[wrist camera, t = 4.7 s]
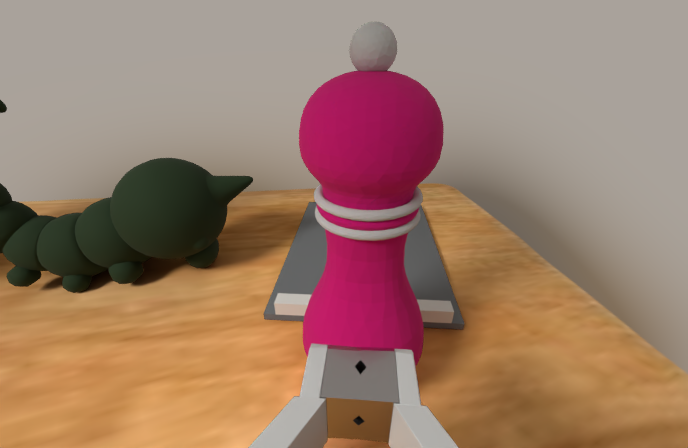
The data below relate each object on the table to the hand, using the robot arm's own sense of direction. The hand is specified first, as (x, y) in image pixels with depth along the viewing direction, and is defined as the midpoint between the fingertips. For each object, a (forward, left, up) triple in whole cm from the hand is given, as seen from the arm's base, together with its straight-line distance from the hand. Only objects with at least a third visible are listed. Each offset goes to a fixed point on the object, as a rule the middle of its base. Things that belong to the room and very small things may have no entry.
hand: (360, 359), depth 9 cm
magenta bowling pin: (-2, +7, -11) cm, 13 cm away
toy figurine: (-27, +11, -11) cm, 31 cm away
